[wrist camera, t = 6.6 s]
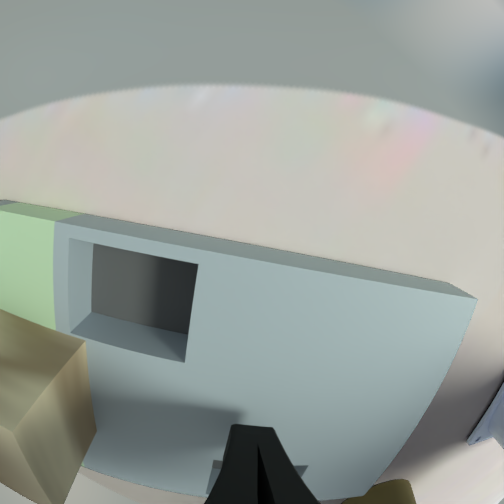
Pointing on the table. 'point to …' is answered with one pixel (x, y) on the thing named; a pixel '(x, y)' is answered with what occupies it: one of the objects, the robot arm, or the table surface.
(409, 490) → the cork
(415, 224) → the table surface
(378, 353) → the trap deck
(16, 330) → the beech block
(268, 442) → the robot arm
